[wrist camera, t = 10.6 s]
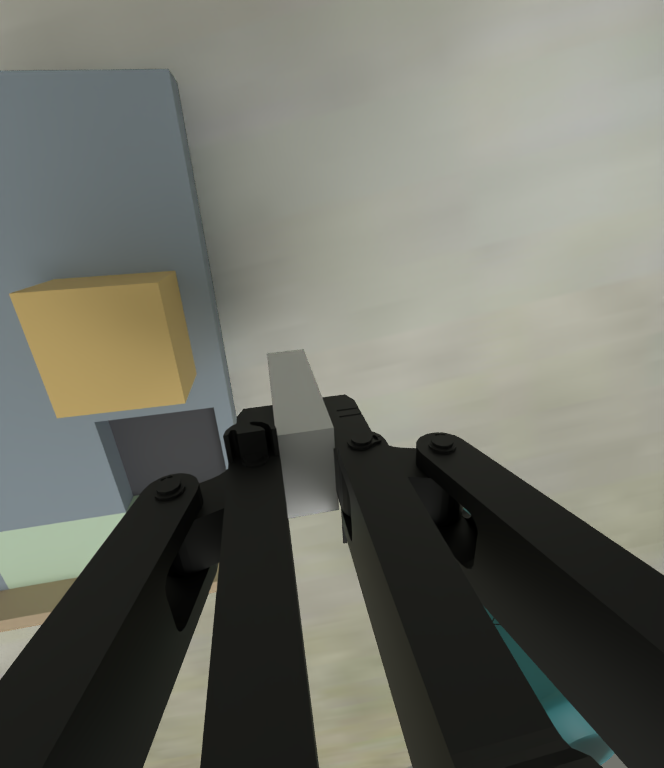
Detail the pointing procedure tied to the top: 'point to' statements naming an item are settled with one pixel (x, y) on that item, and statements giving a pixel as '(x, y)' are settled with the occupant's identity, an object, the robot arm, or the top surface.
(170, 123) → the board
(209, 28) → the top surface
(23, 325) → the ochre block
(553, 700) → the beverage bottle
